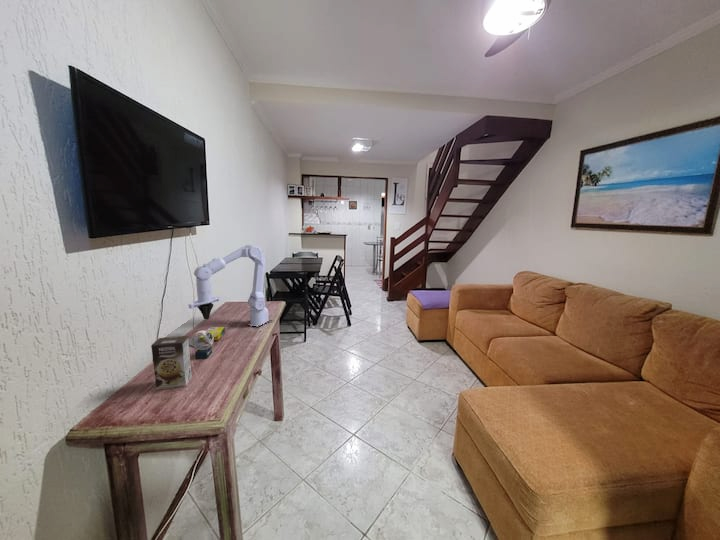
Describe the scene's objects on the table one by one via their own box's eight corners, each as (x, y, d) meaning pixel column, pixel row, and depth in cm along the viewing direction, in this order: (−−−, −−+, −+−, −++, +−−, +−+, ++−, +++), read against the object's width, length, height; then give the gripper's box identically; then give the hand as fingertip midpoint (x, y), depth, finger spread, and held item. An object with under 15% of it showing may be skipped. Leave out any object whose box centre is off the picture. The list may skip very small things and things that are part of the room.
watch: (212, 358, 109) (209, 333, 107) (190, 359, 108) (188, 334, 106) (216, 352, 115) (214, 328, 113) (196, 353, 113) (194, 329, 111)
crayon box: (209, 333, 133) (199, 343, 121) (209, 327, 132) (198, 337, 121) (225, 332, 134) (216, 342, 122) (225, 326, 133) (216, 336, 122)
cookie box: (155, 390, 88) (149, 345, 85) (163, 379, 94) (158, 337, 91) (186, 386, 90) (182, 342, 88) (192, 376, 97) (188, 334, 94)
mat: (210, 332, 135) (210, 331, 135) (223, 336, 130) (223, 335, 130) (182, 343, 122) (182, 342, 122) (196, 347, 118) (195, 346, 118)
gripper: (212, 287, 134) (214, 313, 136) (183, 294, 121) (186, 322, 123) (222, 289, 131) (224, 315, 133) (193, 296, 118) (195, 324, 120)
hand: (206, 318), depth 128 cm, fingers closed
